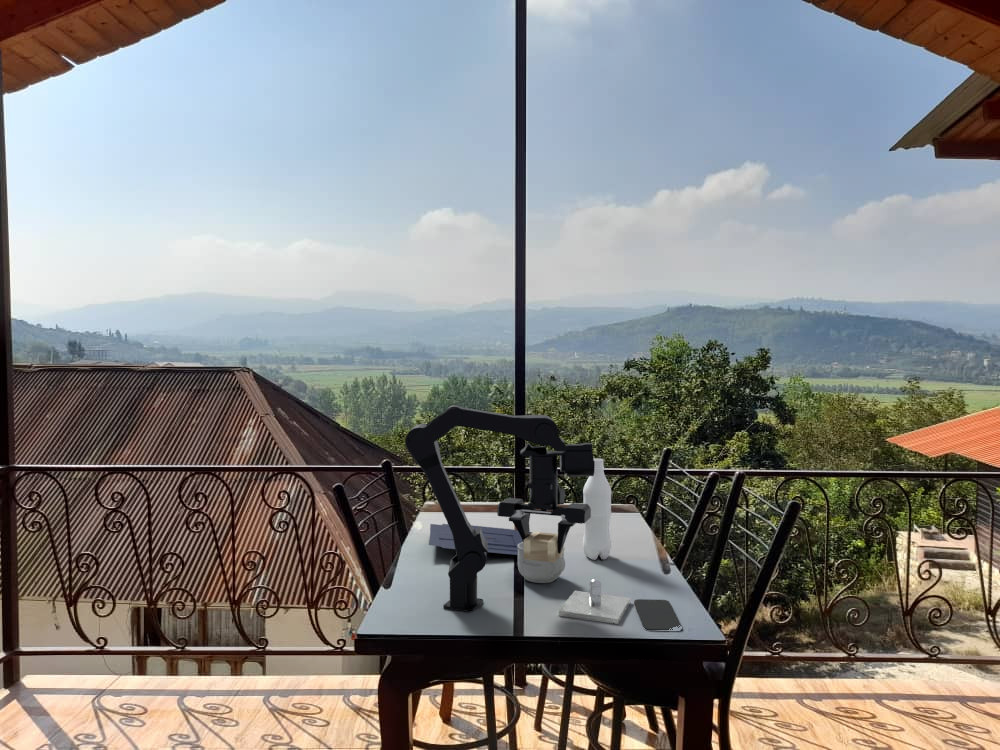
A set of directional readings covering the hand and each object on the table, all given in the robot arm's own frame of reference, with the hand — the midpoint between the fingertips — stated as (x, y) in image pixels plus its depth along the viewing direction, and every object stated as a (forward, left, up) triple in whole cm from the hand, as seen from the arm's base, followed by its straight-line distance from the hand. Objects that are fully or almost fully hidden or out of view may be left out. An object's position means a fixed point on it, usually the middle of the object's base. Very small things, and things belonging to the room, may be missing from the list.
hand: (544, 551), depth 146 cm
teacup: (+14, +5, -12) cm, 19 cm away
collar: (0, 0, -1) cm, 1 cm away
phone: (+3, -23, -12) cm, 26 cm away
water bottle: (+36, -2, -12) cm, 38 cm away
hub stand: (+2, -10, -11) cm, 16 cm away
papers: (+33, +27, -12) cm, 45 cm away
